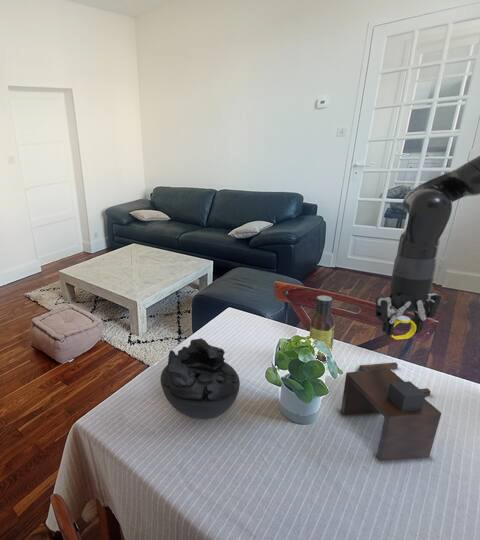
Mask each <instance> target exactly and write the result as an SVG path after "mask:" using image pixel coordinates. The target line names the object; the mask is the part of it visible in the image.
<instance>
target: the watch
mask: <svg viewBox="0 0 480 540" xmlns="http://www.w3.org/2000/svg"><path fill="white" fill-rule="evenodd" d="M400 323H401V324H409V323H410V327H411V329H410V328H409V330H408V332H406V333H405V334H401V335H394V334H392V336H390V337H391V338H392V339H394V340H395V341H398V340H407V339H410V338H411V337H413V336H414V335H415V334H416V333H415V331H416V324H415V323H414V322H413V321H412V319H411V318H410V317H409V316H407V315H401V316H400V317H398V318H397V319H396V320H395V322H394V328H395V327H396V326H397V325H398V324H400Z"/></svg>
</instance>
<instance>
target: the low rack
mask: <svg viewBox="0 0 480 540" xmlns="http://www.w3.org/2000/svg"><path fill="white" fill-rule="evenodd" d="M398 365H399V364H398V363H397V362H382V363H369V364H361V365H359V367H358V371H371V370H383V369H390V370H396V369H398ZM419 389H420V390H421V391H422V392H423V393H424V394H426V395H425V397H427V396H430V395H431V392H432V391H431V390H430V389H429V388H427V387H426V388H419Z"/></svg>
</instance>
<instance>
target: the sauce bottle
mask: <svg viewBox="0 0 480 540" xmlns="http://www.w3.org/2000/svg"><path fill="white" fill-rule="evenodd" d="M315 301H316V308H315V312H314V313H313V314H312V315H311V317H310V318H311V319H310V326H309V337H310V336H311V337H312V338H313V339H316V340H318V341H321V342H324V343H325V344H326V345H327V346H329V348H330V349H331V351H332V352H333V345H334V335H335V323H336V322H335V319H334V317H333V316H334V315H333V313H332V304H333V298H332V297H331V296H329V295H325V294H324V295H318V296H316V299H315ZM317 359H318V360H317ZM315 360H317V361H327V360H326V357H325V355H324V354H323V353H321V352H319V351H318V355H317V358H316V359H315Z"/></svg>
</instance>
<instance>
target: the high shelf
mask: <svg viewBox="0 0 480 540" xmlns="http://www.w3.org/2000/svg"><path fill="white" fill-rule="evenodd" d="M395 382H405V380H404V379H402V378H401V377H400V376H399V375H398V374H396V373H395V372H394V371H393V370H392V369H383V370H371V371H360V370H358V371H349V372H346V373H345V379H344V386H343V392H342V393H343V394H342V400H341V406H340V413H341V414H342V415H343V416H351V415H352V416H353V415H364V414H367V415H368V414H377V413H379V414H381V416H383V417H384V418H383V423H382V428H381V432H380V438H379V441H378V447H377V452H376V457H377V459H378V460H379V461H380V462H383V461H384V462H385V461H398V460H399V461H400V460H411V459H412V460H415V459H425V458H426V459H427V458H430V457H431V452H432V449H433V445H434V441H435V438H436V435H437V431H438V427H439V424H440V420H441V418H442V412H441V411H440V410H439V409H438V408H437V407H435V406H434V405H433V404H432V403H430V401H428V400H427V399H426V398H425V399H424V403H423V407H422V410H420V411H407V412H401V411H400V410H399V409H398V408H397V407H396V406H395V405H394V404H393V403H392V402H391V401H390V400H389V399H387V395H388V391H389V386H390V383H395Z"/></svg>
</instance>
